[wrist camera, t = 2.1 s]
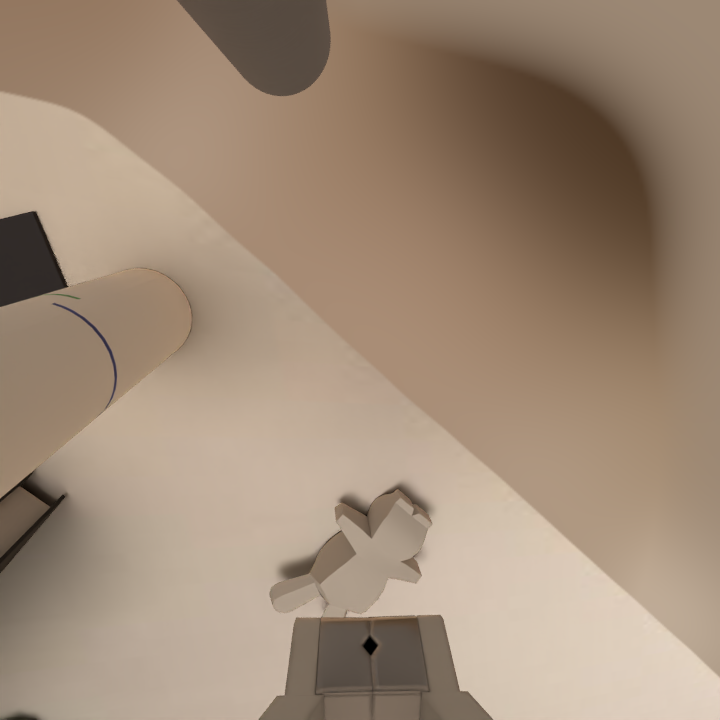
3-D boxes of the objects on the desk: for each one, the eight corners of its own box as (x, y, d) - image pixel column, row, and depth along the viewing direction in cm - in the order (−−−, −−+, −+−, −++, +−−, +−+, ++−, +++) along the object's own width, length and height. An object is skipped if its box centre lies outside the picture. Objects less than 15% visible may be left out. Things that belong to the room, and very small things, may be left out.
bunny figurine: (460, 554, 40) (339, 672, 41) (444, 520, 45) (336, 627, 46) (378, 487, 38) (254, 614, 39) (371, 459, 43) (260, 573, 44)
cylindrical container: (169, 373, 39) (-123, 645, 15) (84, 330, 37) (-381, 550, 14) (207, 298, 37) (-58, 472, 13) (119, 250, 35) (-350, 344, 12)
